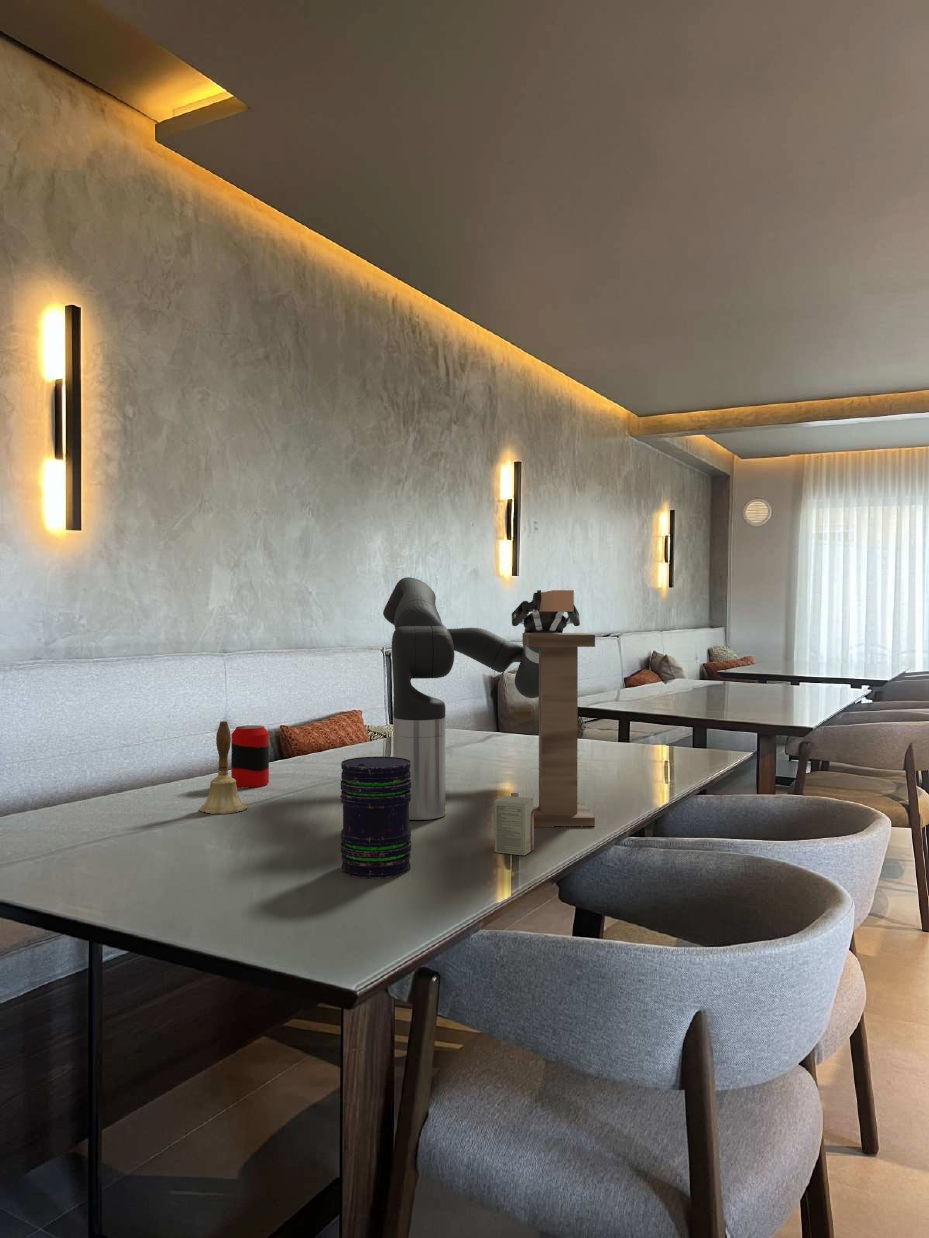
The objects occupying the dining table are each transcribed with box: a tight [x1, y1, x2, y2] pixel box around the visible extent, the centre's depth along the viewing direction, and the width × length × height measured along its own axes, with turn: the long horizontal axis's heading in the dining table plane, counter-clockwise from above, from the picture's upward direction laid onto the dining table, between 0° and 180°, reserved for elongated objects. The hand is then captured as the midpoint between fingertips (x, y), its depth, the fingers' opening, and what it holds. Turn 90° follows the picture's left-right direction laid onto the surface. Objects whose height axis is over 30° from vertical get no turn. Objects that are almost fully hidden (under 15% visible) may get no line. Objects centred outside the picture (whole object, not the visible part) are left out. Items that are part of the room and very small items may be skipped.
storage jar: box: [340, 756, 412, 880], centre depth 131 cm, size 10×10×15 cm
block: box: [539, 589, 575, 611], centre depth 167 cm, size 24×4×4 cm, turn 1°
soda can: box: [230, 724, 270, 788], centre depth 194 cm, size 8×8×12 cm
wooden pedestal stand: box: [521, 632, 596, 828], centre depth 163 cm, size 14×11×32 cm
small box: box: [493, 795, 535, 856], centre depth 140 cm, size 5×4×8 cm
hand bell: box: [199, 720, 248, 815], centre depth 170 cm, size 8×8×16 cm
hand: (550, 594), depth 175 cm, fingers closed on block, 3 cm apart
